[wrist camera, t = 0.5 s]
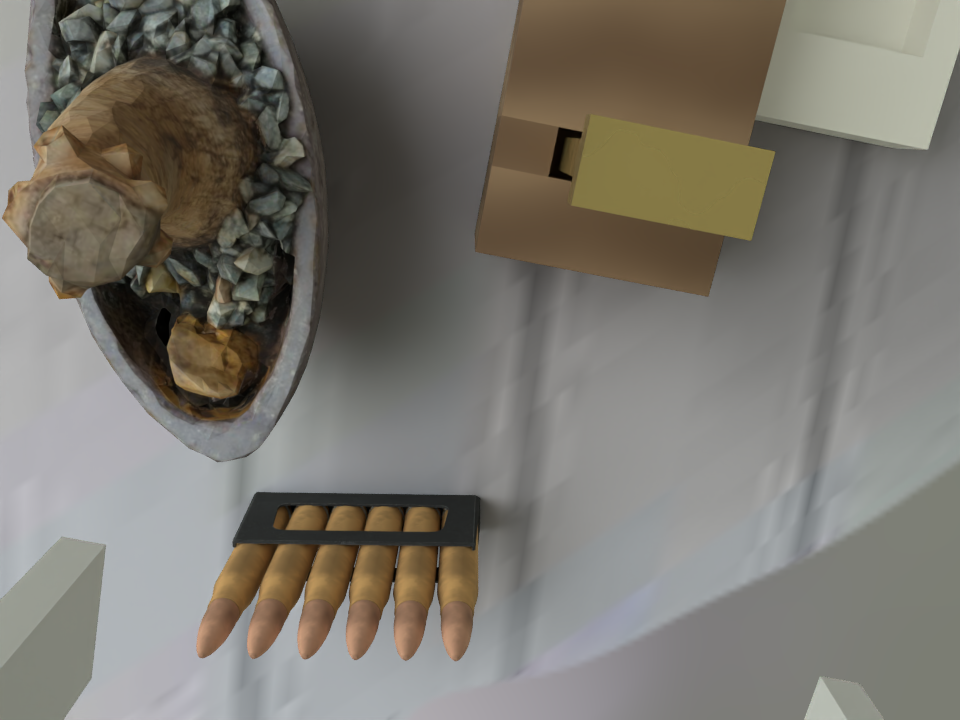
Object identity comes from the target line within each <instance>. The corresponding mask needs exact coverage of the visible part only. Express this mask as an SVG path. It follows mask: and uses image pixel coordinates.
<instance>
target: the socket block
mask: <svg viewBox="0 0 960 720" xmlns="http://www.w3.org/2000/svg"><path fill="white" fill-rule="evenodd" d="M785 4H786V0H519V5H518V10H517V15H516V21H515V26H514V31H513V36H512V42H511V47H510V52H509V57H508V62H507V68H506V73H505V78H504V83H503V88H502V94H501V99H500V104H499V109H498V114H497V120H496V125H495V130H494V135H493V141H492V146H491V151H490V156H489V161H488V167H487V172H486V177H485V182H484V187H483V193H482V198H481V203H480V208H479V214H478V219H477V224H476V229H475V252H479V253H484V254H489V255H494V256H500V257H505V258H510V259H515V260H520V261H526V262H531V263H536V264H541V265H546V266H552V267H557V268H562V269H567V270H572V271H578V272H583V273H588V274H593V275H598V276H604V277H609V278H614V279H619V280H624V281H629V282H635V283H640V284H645V285H650V286H655V287H661V288H666V289H671V290H676V291H681V292H687V293H692V294H697V295H702V296H707V297H708V296H709V292H710V288H711V285H712V281H713V277H714V273H715V269H716V266H717V262H718V258H719V254H720V251H721V247H722V243H723V239H724V235H719V234H714V233H709V232H703V231H698V230H693V229H688V228H683V227H678V226H673V225H668V224H663V223H658V222H653V221H648V220H643V219H637V218H632V217H627V216H622V215H617V214H612V213H607V212H602V211H597V210H592V209H587V208H582V207H576V206H571V205H570V204H569V203H567V201H568V196H569V192H570V187H571V182H572V178H573V176H571V175H569V174H566V173H564V172H562V171H560V170H558V168H559V163H560V158H561V154H562V149H563V144H564V140H565V137H567V138H578V139H581V136H582V131H583V127H584V122H585V118H586V115H587V114H593V115H598V116H603V117H608V118H613V119H618V120H623V121H628V122H633V123H638V124H643V125H648V126H653V127H657V128H662V129H667V130H672V131H677V132H682V133H687V134H692V135H697V136H702V137H707V138H712V139H716V140H721V141H726V142H731V143H736V144H741V145H746V146H748V144H749V141H750V137H751V133H752V129H753V125H754V122H755V118H756V114H757V110H758V106H759V103H760V99H761V95H762V91H763V87H764V84H765V80H766V76H767V72H768V68H769V65H770V61H771V57H772V53H773V50H774V46H775V42H776V38H777V34H778V31H779V27H780V23H781V19H782V15H783V12H784V8H785Z"/></svg>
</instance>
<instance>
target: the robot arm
mask: <svg viewBox="0 0 960 720" xmlns="http://www.w3.org/2000/svg"><path fill="white" fill-rule="evenodd" d="M105 549H106V545H104V544H98V543H93V542H88V541H82V540H77V539H71V538H66V537H61V538H60V539H59V540H58V541H57V542H56V543H55V544H54V545H53V546H52V547H51V548H50V549H49V550H48V551H47V553H46V554H45V555H44V556H43V557H42V558H41V559H40V560H39V561H38V562H37V563H36V564H35V565H34V566H33V567H32V568H31V569H30V570H29V571H28V572H27V573H26V574H25V575H24V576H23V577H22V578H21V579H20V580H19V581H18V582H17V583H16V584H15V585H14V586H13V587H12V588H11V590H10V591H9V592H8V593H7V594H6V595H5V596H4V597H3V598H2V599H1V600H0V720H64V718H65V717H66V715H67V714H68V712H69V711H70V709H71V708H72V706H73V705H74V703H75V702H76V700H77V699H78V697H79V696H80V694H81V693H82V691H83V690H84V688H85V687H86V686H87V684H88V683H89V681H90V680H91V677H92V668H93V659H94V650H95V640H96V631H97V622H98V613H99V604H100V595H101V585H102V576H103V567H104V558H105ZM804 720H884V718H883V717H882V715H881V714H880V713H879V711H878V710H877V708H876V707H875V706H874V704H873V702H872V701H871V699H870V698H869V696H868V695H867V694H866V692H865V691H864V689H863V688H862V686H861V685H860V683H855V682H849V681H844V680H839V679H834V678H828V677H822V676H820V678H819V681H818V684H817V686H816V689H815V692H814V695H813V697H812V700H811V703H810V705H809V708H808V711H807V714H806V716H805V719H804Z"/></svg>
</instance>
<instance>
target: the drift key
mask: <svg viewBox="0 0 960 720" xmlns="http://www.w3.org/2000/svg"><path fill="white" fill-rule="evenodd" d="M774 155H775V151H771V150H766V149H761V148H756V147H751V146H746V145H741V144H736V143H731V142H726V141H721V140H716V139H712V138H707V137H702V136H697V135H692V134H687V133H682V132H677V131H672V130H667V129H662V128H657V127H653V126H648V125H643V124H638V123H633V122H628V121H623V120H618V119H613V118H608V117H603V116H598V115H593V114H587V115H586V118H585V122H584V127H583V131H582V136H581V139H578V138H567V137H565V140H564V144H563V149H562V154H561V158H560V163H559V168H558V170H560V171H562V172H564V173H566V174H569V175H571V176H573V178H572V182H571V187H570V192H569V196H568V201H567V203H569V204H570V205H571V206H576V207H582V208H587V209H592V210H597V211H602V212H607V213H612V214H617V215H622V216H627V217H632V218H637V219H643V220H648V221H653V222H658V223H663V224H668V225H673V226H678V227H683V228H688V229H693V230H698V231H703V232H709V233H714V234H719V235H724V236H729V237H734V238H739V239H744V240H749V241H751V240H752V236H753V233H754V229H755V225H756V221H757V218H758V214H759V210H760V207H761V203H762V199H763V196H764V192H765V188H766V185H767V181H768V177H769V174H770V170H771V166H772V163H773V159H774Z"/></svg>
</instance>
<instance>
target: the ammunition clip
mask: <svg viewBox="0 0 960 720" xmlns="http://www.w3.org/2000/svg"><path fill="white" fill-rule="evenodd" d="M479 531H480V498H479V497H478V496H476V495H410V494H340V493H271V492H257V493H256V494H255V495H254V497H253V499H252V501H251V503H250V505H249V507H248V510H247V512H246V514H245V516H244V518H243V520H242V522H241V524H240V527H239V529H238V531H237V533H236V535H235V537H234V539H233V547H234V550H233V552H232V554H231V556H230V557H229V559H228V561H227V563H226V565H225V567H224V568H223V570H222V572H221V574H220V576H219V577H218V579H217V581H216V583H215V585H214V590H213V596H212V598H211V601H210V603H209V605H208V609H207V611H206V613H205V615H204V617H203V619H202V622H201V625H200V627H199V631H198V636H197V646H196V647H197V653H198V656H199V657H200V658H205V657H207V656H209V655H211V654H212V653H213V652H214V651H216V650H217V649H218V648H219V647H220V646H221V645H222V644H223V643H224V641H225V640H226V639H227V637H228V636H229V634H230V633H231V631H232V629H233V628H234V626H235V624H236V622H237V621H238V619H239V618H240V616H241V614H242V612H243V611H244V610H245V609H246V608H247V607H248V606H249V605H250V604H251V602H252V600H253V598H254V597H255V595H256V593H257V591H258V589H259V587H260V590H259V598H258V601H257V604H256V607H255V611H254V614H253V616H252V619H251V622H250V626H249V631H248V639H247V648H248V653H249V656H250V657H251V658H252V659H255V658H258V657H260V656H261V655H262V654H264V653H265V652H266V651H267V650H268V649H269V648H270V646H271V645H272V644H273V643H274V641H275V639H276V638H277V636H278V634H279V633H280V631H281V629H282V627H283V625H284V622H285V621H286V619H287V617H288V615H289V613H290V611H291V609H292V608H293V607H294V606H295V605H296V603H297V601H298V600H299V598H300V596H301V593H302V590H303V588H304V585H305V582H306V581H307V583H306V587H305V601H304V605H303V610H302V615H301V618H300V622H299V629H298V649H299V653H300V655H301V657H302V658H303V659H308V658H310V657H311V656H313V655H314V654H315V653H316V652H317V651H318V649H319V648H320V647H321V645H322V644H323V642H324V641H325V639H326V637H327V635H328V633H329V631H330V628H331V625H332V622H333V620H334V618H335V616H336V613H337V610H338V608H339V607H340V605H341V604H342V602H343V601H344V599H345V596H346V593H347V589H348V585H349V582H351V584H350V590H349V599H350V606H349V612H348V614H349V615H348V620H347V626H346V642H347V647H348V652H349V654H350V656H351V657H352V659H354V660H357V659H359V658H361V657H362V656H363V655H364V654H365V653H366V651H367V650H368V649H369V647H370V645H371V644H372V642H373V640H374V637H375V635H376V632H377V629H378V625H379V621H380V619H381V616H382V612H383V608H384V607H385V605H386V604H387V602H388V600H389V596H390V591H391V585H392V582H395V584H394V590H393V596H394V601H395V613H394V614H395V620H394V638H395V643H396V647H397V651H398V653H399V655H400V657H401V658H402V659H403V660H405V661H406V660H409V659H410V658H411V657H412V656H413V655H414V654H415V652H416V651H417V649H418V647H419V645H420V643H421V641H422V638H423V634H424V630H425V625H426V620H427V615H428V610H429V607H430V605H431V603H432V601H433V596H434V590H435V583H438V588H437V595H438V600H439V604H440V615H441V631H442V637H443V642H444V646H445V648H446V651H447V653H448V655H449V656H450V658H451V659H452V660H454V661H458V660H459V659H461V658H462V656H463V655H464V653H465V651H466V649H467V647H468V645H469V642H470V637H471V632H472V627H473V616H474V607H475V604H476V601H477V597H478V541H479ZM319 545H320V546H319ZM359 546H360V549H359ZM399 546H400V552H399V558H398V565H397V568H395V564H396V558H397V553H398V547H399ZM438 546H440V555H439V567H437V556H438ZM318 548H319V549H318ZM358 550H359V553H358ZM317 551H318V552H317ZM316 553H317V555H316ZM357 553H358V556H357ZM315 556H316V558H315ZM356 557H357V560H356ZM314 559H315V560H314ZM355 560H356V564H355ZM313 561H314V563H313ZM312 564H313V566H312ZM354 564H355V568H354ZM311 566H312V567H311ZM260 584H261V585H260Z"/></svg>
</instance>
